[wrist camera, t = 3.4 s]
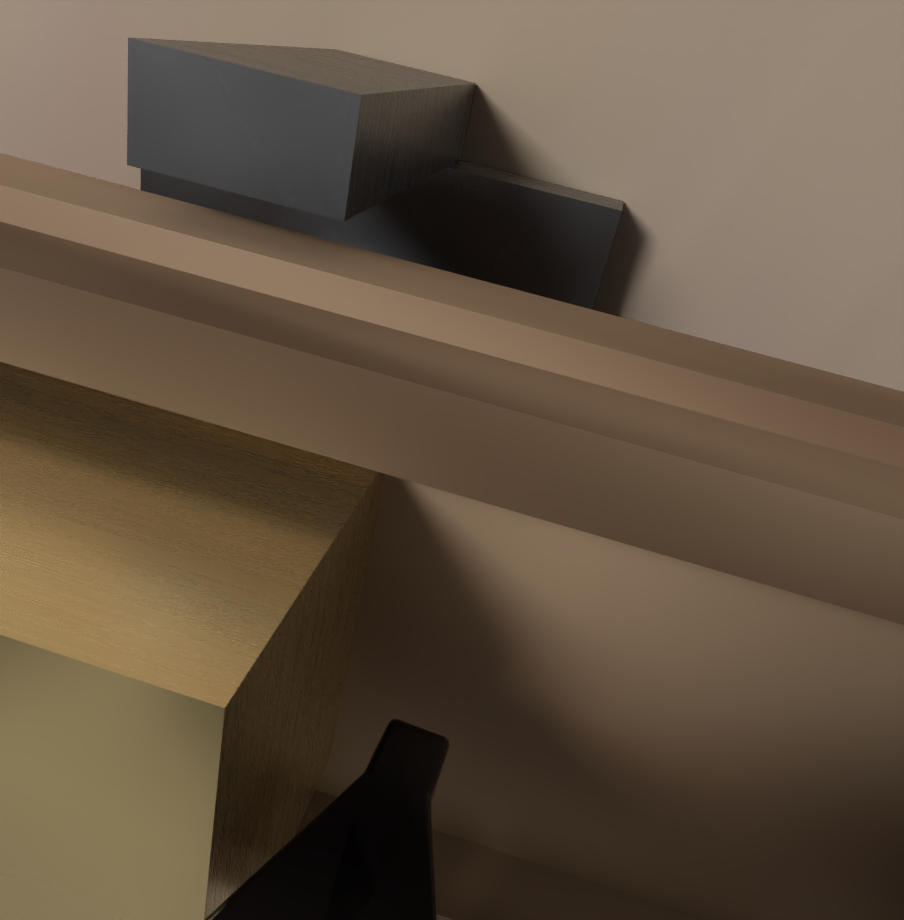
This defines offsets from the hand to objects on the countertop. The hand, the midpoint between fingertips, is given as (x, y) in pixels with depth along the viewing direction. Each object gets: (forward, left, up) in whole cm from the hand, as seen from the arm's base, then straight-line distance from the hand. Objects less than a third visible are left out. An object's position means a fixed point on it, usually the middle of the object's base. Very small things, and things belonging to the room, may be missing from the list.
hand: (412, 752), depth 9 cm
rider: (0, +4, -2) cm, 4 cm away
